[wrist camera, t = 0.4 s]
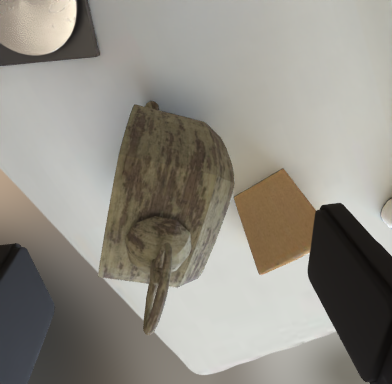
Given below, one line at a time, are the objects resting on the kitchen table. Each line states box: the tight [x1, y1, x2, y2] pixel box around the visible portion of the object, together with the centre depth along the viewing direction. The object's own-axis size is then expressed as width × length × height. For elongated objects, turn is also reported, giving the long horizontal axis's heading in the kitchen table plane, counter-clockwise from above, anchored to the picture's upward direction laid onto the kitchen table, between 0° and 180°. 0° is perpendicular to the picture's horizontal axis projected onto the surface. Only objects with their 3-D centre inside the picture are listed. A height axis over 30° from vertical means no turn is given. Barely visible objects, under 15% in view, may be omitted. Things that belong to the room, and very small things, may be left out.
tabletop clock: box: [98, 101, 234, 335], centre depth 29 cm, size 14×9×25 cm, turn 164°
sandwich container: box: [234, 169, 316, 275], centre depth 40 cm, size 9×15×15 cm, turn 33°
